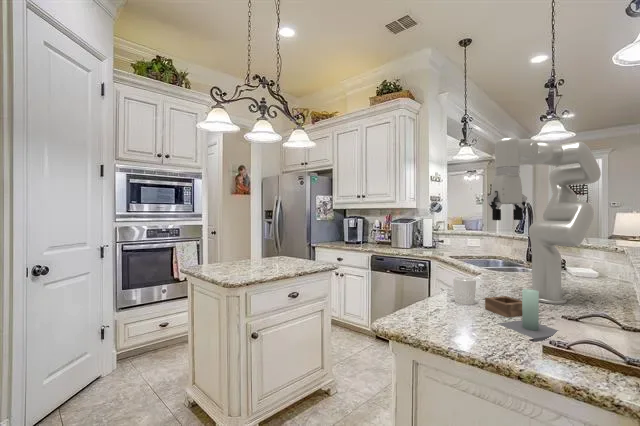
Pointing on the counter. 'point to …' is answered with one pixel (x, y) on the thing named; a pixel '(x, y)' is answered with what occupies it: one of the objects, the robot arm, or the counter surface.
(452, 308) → the counter surface
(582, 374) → the counter surface
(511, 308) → the box
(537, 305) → the pale green cylinder
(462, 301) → the white cup
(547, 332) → the mat
